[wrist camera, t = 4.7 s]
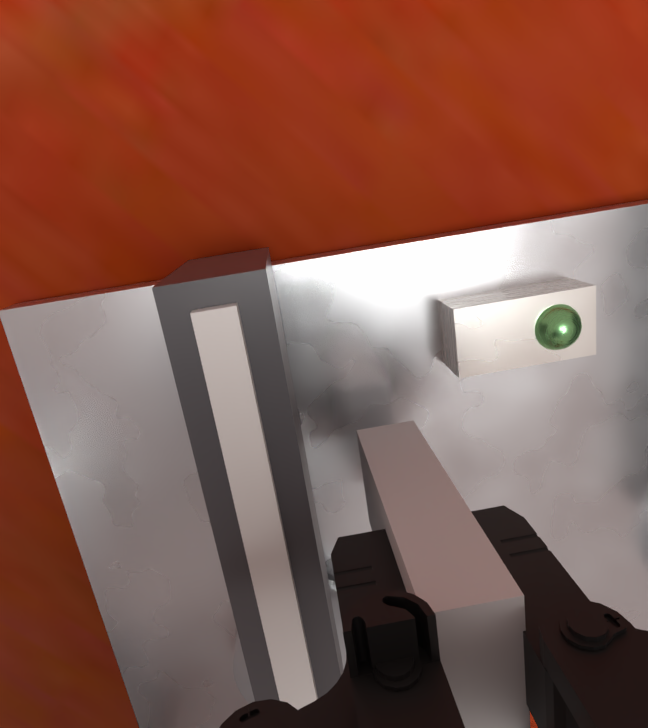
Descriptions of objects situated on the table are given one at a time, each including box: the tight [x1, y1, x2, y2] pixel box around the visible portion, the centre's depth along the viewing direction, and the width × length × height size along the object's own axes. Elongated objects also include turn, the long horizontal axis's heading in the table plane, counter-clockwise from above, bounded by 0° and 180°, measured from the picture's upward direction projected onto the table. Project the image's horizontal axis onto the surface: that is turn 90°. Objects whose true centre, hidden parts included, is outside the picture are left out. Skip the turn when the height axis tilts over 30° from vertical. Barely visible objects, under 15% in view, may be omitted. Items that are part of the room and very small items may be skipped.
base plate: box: [0, 199, 648, 728], centre depth 16 cm, size 24×15×3 cm, turn 99°
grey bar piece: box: [152, 247, 346, 710], centre depth 14 cm, size 4×14×5 cm, turn 9°
